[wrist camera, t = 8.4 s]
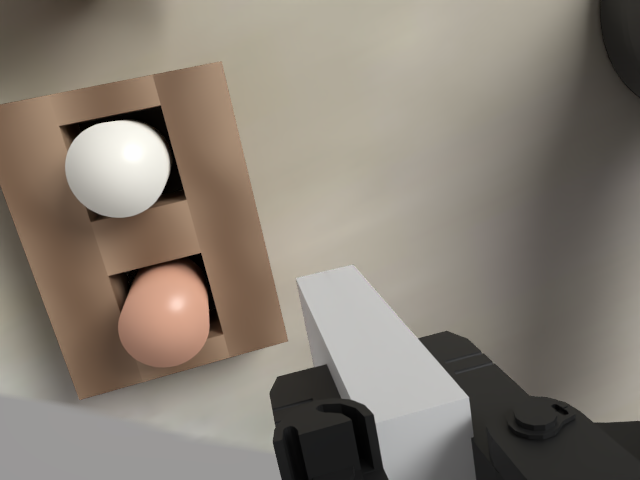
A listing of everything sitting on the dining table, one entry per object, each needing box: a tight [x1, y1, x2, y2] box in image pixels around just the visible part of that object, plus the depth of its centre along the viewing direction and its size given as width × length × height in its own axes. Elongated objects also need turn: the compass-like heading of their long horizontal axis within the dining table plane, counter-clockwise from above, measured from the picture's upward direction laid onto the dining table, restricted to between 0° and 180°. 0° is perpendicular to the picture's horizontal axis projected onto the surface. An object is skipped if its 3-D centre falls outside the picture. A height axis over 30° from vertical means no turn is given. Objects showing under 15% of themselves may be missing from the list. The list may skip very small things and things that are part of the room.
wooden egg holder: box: [0, 61, 288, 400], centre depth 31 cm, size 12×16×4 cm
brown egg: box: [118, 257, 209, 368], centre depth 30 cm, size 4×4×6 cm
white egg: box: [65, 120, 173, 218], centre depth 28 cm, size 4×4×6 cm
